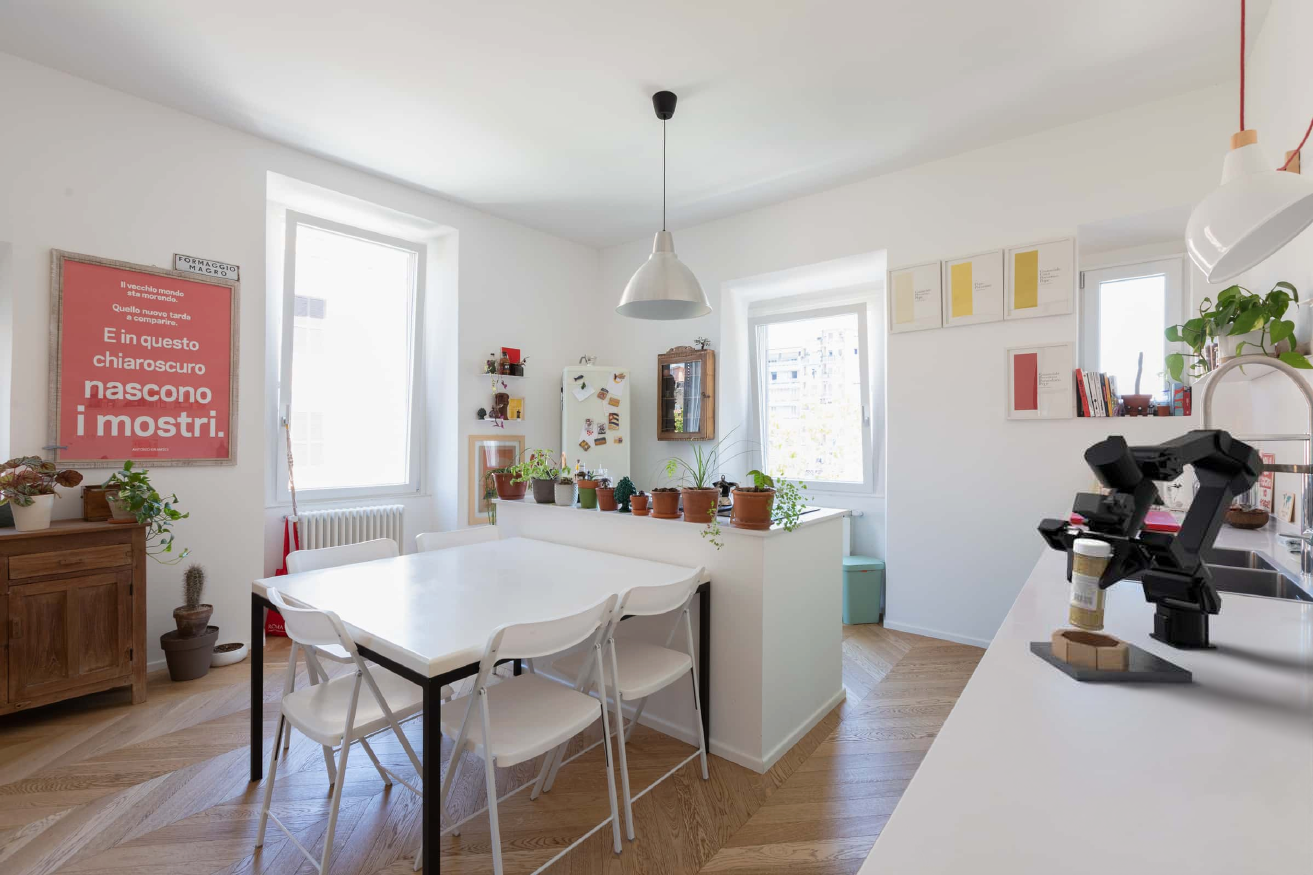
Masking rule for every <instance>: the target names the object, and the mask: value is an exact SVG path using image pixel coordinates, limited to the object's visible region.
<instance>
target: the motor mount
mask: <svg viewBox="0 0 1313 875" xmlns="http://www.w3.org/2000/svg"><path fill="white" fill-rule="evenodd" d="M1029 651H1030V652H1031V653H1033V654H1034V655H1036V656H1037V657H1039V658H1041V659H1043V661H1046V662H1047V663H1048V662H1049V665H1052V666H1053V667H1055V668H1057V669H1058V670H1059V671H1061V672H1063V673H1064V674H1065V675H1068V676H1069V677H1070V678H1072V679H1073V680H1075V681H1076V682H1077V681H1079V682H1084V681H1085V682H1122V683H1123V682H1126V683H1127V682H1128V683H1131V682H1132V683H1171V684H1172V683H1173V684H1175V683H1176V684H1177V683H1178V684H1179V683H1180V684H1184V683H1185V684H1192V683H1193V672H1192V671H1190V670H1187V669H1185V668H1183V667H1181V666H1179V665H1177V664H1175V663H1172V662H1171V661H1169V660H1166V659H1164V658H1163V657H1160V656H1158V655H1156V654H1154V653H1153V652H1152V653H1151V652H1149V651H1148V650H1145V649H1143V648H1141V647H1139V646H1137V645H1135V644H1133V643H1129V642H1126V641H1125V640H1122V639H1121V638H1118V637H1116V636H1115V635H1111V634H1107V633H1103V632H1099V631H1089V630H1085V629H1080V628H1078V629H1076V628H1074V629H1073V628H1070V629H1069V628H1066V629H1065V628H1059V629H1057V630H1056V631H1054V632H1053V633H1052V634H1051V641H1030V642H1029Z"/></svg>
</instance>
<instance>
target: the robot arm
mask: <svg viewBox="0 0 1313 875" xmlns="http://www.w3.org/2000/svg"><path fill="white" fill-rule="evenodd" d="M1083 458H1084V460H1085V462H1086V464H1087V465H1088V467H1089V468H1090V470H1091V471H1092V472H1093V474H1094V476H1095V477H1096V479H1097V480H1098V482H1099V484H1101V485H1102V486H1103V487H1106V488H1109V491H1108V493H1107V494H1103V493H1093V492H1081V491H1080V492H1076V494H1075V495H1076V496H1075V498H1074V502H1073V506H1072V513H1073V514H1077V515H1078V516H1081V517H1082V520H1081V523H1082V524H1083V527H1087V528H1088V530H1084V529H1081V528H1080V527H1078V526H1073V524H1072V523H1071V522H1070V520H1066V519H1056V518H1049V517H1048V518H1043V519H1042V520H1041V521H1040V523H1039V525H1038V527H1037V528H1036V529H1037V531H1038V532H1039V534H1040V535H1041V536H1042V538H1043V539H1044V540H1045V542H1046V543H1047V545H1048V546H1049V547H1050V549H1053V550H1054V551H1059V552H1064V553H1066V554H1067V555H1066V556H1067V561H1066V562H1067V563H1066V580H1067V582H1068V583H1070V584H1072V571H1073V564H1074V551H1073V547H1074V540H1076V539H1092V540H1098V541H1103V542H1106V543H1108V544H1110V546H1111V547H1110V550H1113V554H1112V556H1111V558H1110V560H1108V565H1107V567H1106V569H1105V570H1104V572H1103V574H1102V576H1101V578H1100V581H1099V584H1098V586H1099V588H1100V589H1102V590H1104V589H1106V590H1107V589H1108V588H1109V587H1111V586H1113V585H1115V584H1116V583H1117V584H1118V582H1120V581H1122V580H1124V579H1126V578H1128V577H1130V576H1132V575H1134V574H1137V573H1139V572H1141V571H1142V573H1141V578H1140V579H1141V580H1140V581H1141V586H1142V589H1143V593H1144V598H1145V602H1146V603H1148V604H1155V612H1154V614H1153V632H1149V634H1148V636H1149V637H1151V638H1153V639H1155V640H1157V641H1161V642H1162V643H1164V644H1167V645H1168V646H1172V647H1174V648H1176V649H1193V650H1194V649H1196V650H1197V649H1199V650H1200V649H1201V650H1202V649H1203V650H1204V649H1205V650H1217V649H1218V645H1216V644H1214V643H1211V642H1210V616H1209V615H1215V616H1217V615H1218V616H1219V615H1220V611H1221V608H1222V601H1223V600H1222V598H1221V597H1220V595H1219V593H1218V591H1217V590H1216V588H1215V587H1214V585H1213V584H1212V582H1213V577H1212V574H1211V572H1210V570H1209V568H1208V566H1207V561H1208V558H1209V556H1210V554H1211V552H1212V549H1213V547H1214V545H1215V542H1216V540H1217V538H1218V536H1219V533H1220V531H1221V528H1222V527H1223V525H1224V522H1225V520H1226V517H1227V516H1228V513H1229V511H1230V509H1231V506H1232V504H1233V501H1234V499H1235V498H1237V497H1239V496H1240V495H1242V494H1244V493H1246V492H1248V491H1250V490H1252V489H1253V488H1254V486H1255V484H1256V482H1257V481H1258V479H1259V477H1261V476H1262V474H1263V473H1264V468H1265V467H1264V465H1265V464H1264V460H1263V459H1262V457H1261V456H1260V454H1259V453H1258V451H1256V450H1255V448H1254V447H1253V446H1251V445H1249V444H1247V443H1245V442H1243V441H1241V440H1239V439H1237V438H1234V437H1232V435H1231V433H1229V431H1227V430H1223V429H1220V428H1218V429H1216V428H1215V429H1209V428H1208V429H1207V428H1206V429H1203V428H1202V429H1193V430H1189V431H1187V433H1186V434H1183V435H1180V436H1178V437H1175V438H1172V439H1170V440H1166V441H1165V442H1161V443H1159V444H1155V445H1153V444H1152V445H1133V446H1132V445H1130V446H1129V445H1128V443H1127V441H1126V439H1125V437H1124V435H1108V436H1107V438H1106V439H1105V440H1101V441H1099V442H1097V443H1094V444H1092V445H1091V446H1089V448H1086V450H1085V451H1084V454H1083ZM1189 464H1190V465H1191V467H1192V468H1193V469H1194V470H1193V472H1194V475H1195V476H1196V478H1197V480H1198V482H1199V485H1198V488H1197V491H1196V493H1195V495H1194V498H1193V499H1192V500H1191V501H1192V502H1191V503H1190V506H1189V507H1188V510H1187V512H1186V515H1185V517H1184V518H1183V521H1182V523H1181V526H1180V527H1179V529H1178V531H1177V534H1176V535H1175V533H1173V532H1165V531H1156V530H1148V529H1147V527H1148V524H1147V523H1146V522H1145V520H1146V518H1147V516H1148V514H1149V512H1150V510H1151V508H1152V506H1153V505H1154V506H1161V505H1162V504H1163V502H1162V497H1161V496H1160V494H1159V493H1160V491H1159V489H1158V487H1157V485H1156V484H1155V483H1154V482H1159V483H1161V482H1162V483H1164V482H1165V483H1171V482H1174V481H1175V480H1176V479H1177V478H1179V477H1181V475H1183V474H1184V472H1185V471H1184V466H1187V465H1189ZM1138 533H1139V534H1138ZM1137 536H1138V538H1136V537H1137Z"/></svg>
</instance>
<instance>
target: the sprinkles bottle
mask: <svg viewBox="0 0 1313 875" xmlns="http://www.w3.org/2000/svg"><path fill="white" fill-rule="evenodd" d="M1110 547H1111V546H1110V544H1108V543H1106V542H1103V541H1098V540H1092V539H1076V540H1074V547H1073V551H1074V564H1073V571H1072V583H1070V584H1071V585H1070V586H1071V587H1070V598H1069V603H1070V605H1069V607H1070V608H1069V617H1068V620H1067V622H1068V623H1069V624H1070V625H1071V626H1073V627H1076V628H1078V629H1082V630H1088V631H1093V632H1099V631H1102V630H1104V629H1105V625H1104V616H1105V609H1106V601H1107V600H1106V598H1107V588H1106V589H1104V590H1102V589H1100V588H1099V586H1098V584H1099V581H1100V578H1101V576H1102V574H1103V572H1104V570H1105V569H1106V567H1107V565H1108V563H1109V559H1110V556H1111V549H1110Z"/></svg>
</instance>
